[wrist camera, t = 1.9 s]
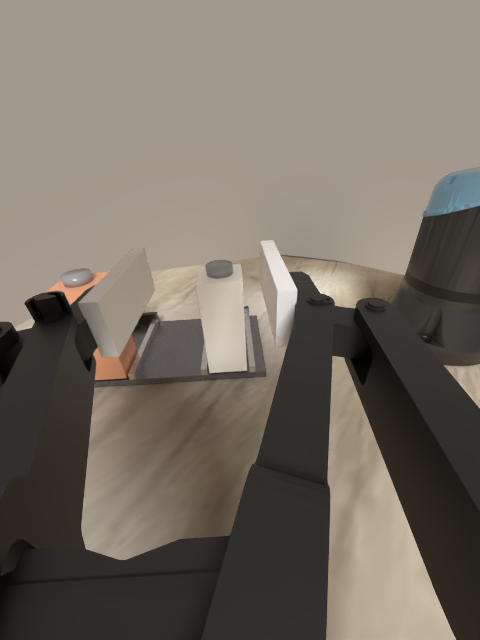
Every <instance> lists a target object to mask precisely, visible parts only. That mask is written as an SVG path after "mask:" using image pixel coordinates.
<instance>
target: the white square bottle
mask: <svg viewBox="0 0 480 640" xmlns="http://www.w3.org/2000/svg"><path fill="white" fill-rule="evenodd" d="M196 290H197V297H198V303H199V309H200V316H201V322H202V328H203V335H204V341H205V347H206V354H207V360H208V366H209V372H210V373H218V372H234V371H247V358H246V338H245V317H244V297H243V279H242V270H241V264H232V262H230V261H227V260H215V261H211V262H209V263H207V264H206V266H200V268H199V272H198V276H197V280H196Z"/></svg>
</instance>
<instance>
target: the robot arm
mask: <svg viewBox="0 0 480 640" xmlns="http://www.w3.org/2000/svg"><path fill="white" fill-rule="evenodd" d="M260 283H261V287H262V292H263V296H264V300H265V304H266V308H267V312H268V317H269V321H270V325H271V329H272V333H273V337H274V342H275V346H276V347H283V346H287V349H286V353H285V357H284V360H283V364H282V368H281V372H280V375H279V379H278V383H277V387H276V390H275V394H274V398H273V402H272V405H271V409H270V413H269V416H268V420H267V424H266V428H265V431H264V435H263V439H262V443H261V446H260V450H259V454H258V457H257V460H256V462H255V463H254V464H252V466H251V468H250V470H249V473H248V476H247V479H246V482H245V486H244V489H243V493H242V497H241V500H240V504H239V507H238V511H237V514H236V518H235V521H234V525H233V528H232V532H231V535H230V536H223V537H207V538H192V539H179V540H177V541H174V542H172V543H169V544H166V545H164V546H161V547H159V548H156V549H153V550H151V551H148V552H146V553H143V554H140V555H138V556H135V557H133V558H130V559H127V560H117V559H114V558H111V557H108V556H105V555H102V554H99V553H96V552H92V551H89V550H86V549H85V545H84V541H83V537H82V532H81V520H82V509H83V499H84V488H85V478H86V467H87V457H88V446H89V436H90V425H91V415H92V405H93V394H94V384H95V373H96V359H95V357H94V355H93V353H94V352H95V350H96V349H97V347H98V350H99V352H100V354H101V356H102V358H107V357H120V355H121V353H122V351H123V349H124V347H125V345H126V344H127V342H128V340H129V338H130V336H131V334H132V332H133V330H134V328H135V327H136V325H137V323H138V321H139V319H140V317H141V315H142V313H143V312H144V310H145V308H146V306H147V304H148V302H149V300H150V298H151V297H152V295H153V293H154V291H155V287H154V283H153V279H152V275H151V271H150V267H149V263H148V259H147V255H146V251H145V248H138V249H137V248H136V249H131V250H130V251H129V252H128V253H127V254H126V255H125V256H124V257H123V258H122V259H121V260H120V261H119V262H118V263H117V264H116V265H115V266H114V267H113V268H112V269H111V270H110V271H109V272H108V273H107V274H106V275H105V276H104V277H103V278H102V279H101V280H100V281H99V282H98V283H97V284H96V285H94V286H92V287H90V288H88V289H87V290H85V291H84V292H83V293H82V294H81V296H79V297H78V298H77V299H76V301H74V302H73V303H72V304H71V305H70V304H69V302H68V300H67V298H66V296H65V294H64V292H61V291H51V292H45V293H41V294H39V295H36V296H33V297H32V298H30V299H28V300H27V301H26V302H25V305H26V307H27V308H28V310H29V312H30V313H31V315H32V317H33V319H34V321H35V323H34V325H33V327H32V328H30V329H25V330H21V331H16V329H15V328H14V326H13V325H12V323H10V322H0V640H326V625H327V592H328V560H329V527H330V487H329V485H328V482H327V472H328V448H329V424H330V400H331V377H332V356H338V357H345V361H346V364H347V367H348V369H349V372H350V374H351V377H352V379H353V382H354V384H355V387H356V390H357V392H358V395H359V397H360V400H361V402H362V405H363V408H364V410H365V413H366V415H367V418H368V420H369V423H370V426H371V428H372V431H373V433H374V436H375V438H376V441H377V443H378V446H379V449H380V451H381V454H382V456H383V459H384V461H385V464H386V467H387V469H388V472H389V474H390V477H391V479H392V482H393V485H394V487H395V490H396V492H397V495H398V497H399V500H400V502H401V505H402V508H403V510H404V513H405V515H406V518H407V520H408V523H409V526H410V528H411V531H412V533H413V536H414V538H415V541H416V544H417V546H418V549H419V551H420V554H421V556H422V559H423V561H424V564H425V567H426V569H427V572H428V574H429V577H430V579H431V582H432V585H433V587H434V590H435V592H436V595H437V597H438V599H439V602H440V604H441V606H442V609H443V611H444V613H445V616H446V618H447V620H448V622H449V625H450V627H451V629H452V632H453V634H454V636H455V638H456V640H480V408H479V407H478V406H477V405H476V404H475V402H474V401H473V400H472V399H471V398H470V397H469V395H468V394H467V393H466V392H465V391H464V389H463V388H462V387H461V386H460V385H459V383H458V382H457V381H456V380H455V379H454V377H453V376H452V375H451V374H450V373H449V371H448V370H447V369H446V368H445V367H444V365H443V364H445V365H453V366H470V365H476V364H480V167H477V168H471V169H466V170H460V171H456V172H453V173H450V174H448V175H446V176H444V177H443V178H442V179H441V180H440V181H439V182H438V183H437V184H436V186H435V188H434V190H433V193H432V195H431V198H430V200H429V203H428V205H427V208H426V210H425V211H424V212H423V220H422V223H421V227H420V230H419V233H418V236H417V239H416V242H415V246H414V249H413V252H412V255H411V258H410V262H409V265H408V268H407V271H406V274H405V277H404V280H403V282H402V283H401V285H400V286H399V287H398V289H397V290H396V292H395V293H394V294H393V296H392V297H391V299H390V300H389V302H386V301H384V300H382V299H378V298H365V299H361V300H359V301H358V302H357V303H356V307H355V309H354V308H344V307H338V306H335V302H334V300H333V299H332V298H331V297H329V296H327V295H324V294H320V292H319V291H318V289H317V288H316V286H315V285H314V283H313V282H312V280H311V278H310V277H309V275H307V274H305V273H303V272H288V270H287V268H286V266H285V264H284V262H283V260H282V258H281V256H280V253H279V252H278V249H277V247H276V245H275V243H274V241H273V240H267V241H260Z"/></svg>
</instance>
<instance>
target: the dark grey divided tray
mask: <svg viewBox="0 0 480 640" xmlns="http://www.w3.org/2000/svg"><path fill="white" fill-rule="evenodd" d="M244 317H245V338H246V358H247V371H234V372H218V373H210V372H209V366H208V360H207V354H206V347H205V341H204V335H203V328H202V322H201V319H193V320H177V321H161V322H159V319H158V315H157V312H150V313H142V315H141V317H140V319H139V321H138V323H137V325H136V327H135V328H134V330H133V332H132V334H131V335H132V338H133V341H134V344H135V347H136V349H137V352H138V353H137V355H136V357H135V359H134V361H133V364H132V366H131V368H130V370H129V373H128V377H127V378H123V379H107V380H95V384H94V387H107V386H123V385H139V384H155V383H171V382H187V381H202V380H218V379H234V378H250V377H266V369H265V363H264V357H263V351H262V345H261V340H260V334H259V328H258V322H257V316H249V308H248V306H246V307H244Z"/></svg>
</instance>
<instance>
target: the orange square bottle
mask: <svg viewBox="0 0 480 640" xmlns="http://www.w3.org/2000/svg"><path fill="white" fill-rule="evenodd" d="M107 273H108V272H100V273H91V271H90V269H84V268H83V269H75V270H71V271H68V272H66V273H64V274H62V275H61V276H60V277H61V281H59V282H58V283H57V284H55V285H54V286H53V287H51V288H50V289H49V290H48V291H47V292H51V291H61V292H64V294H65V296H66V298H67V300H68V302H69V304H70V305H71V304H72V303H73V302H74V301H76V299H77V298H78V297H79V296H81V294H82V293H83V292H84V291H85V290H87V289H88V288H90V287H92V286H94V285H96V284H97V283H98V282H99V281H100V280H101V279H102V278H103V277H104V276H105V275H106V274H107ZM137 353H138V352H137V349H136V347H135V344H134V341H133V338H132V335H131V336H130V338H129V340H128V342H127V344H126V345H125V347H124V349H123V351H122V353H121V355H120V357H107V358H102V356H101V354H100V352H99V350H98V347H97V349H96V350H95V352H94V353H93V355H94V357H95V359H96V373H95V380H107V379H123V378H127V377H128V373H129V370H130V368H131V366H132V364H133V361H134V359H135V357H136V355H137Z"/></svg>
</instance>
